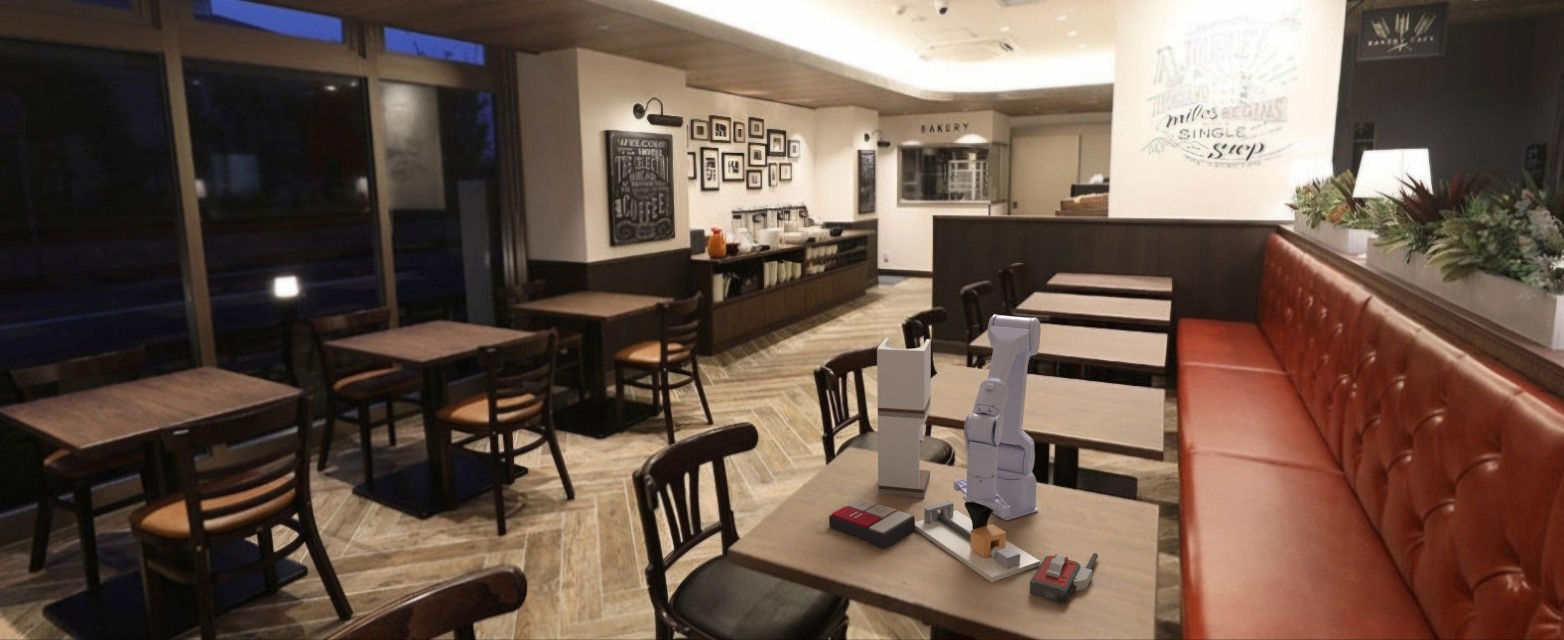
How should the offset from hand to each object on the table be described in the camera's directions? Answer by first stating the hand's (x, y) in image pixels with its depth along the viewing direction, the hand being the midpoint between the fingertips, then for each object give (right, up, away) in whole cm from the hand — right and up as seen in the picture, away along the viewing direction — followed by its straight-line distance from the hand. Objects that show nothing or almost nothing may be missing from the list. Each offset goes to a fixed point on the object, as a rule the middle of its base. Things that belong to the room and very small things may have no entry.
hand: (979, 535), depth 159 cm
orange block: (+1, -2, -2) cm, 3 cm away
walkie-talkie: (+13, -6, -10) cm, 18 cm away
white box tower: (-10, +3, +31) cm, 33 cm away
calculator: (-20, -2, +11) cm, 23 cm away
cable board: (-1, -3, +3) cm, 4 cm away
